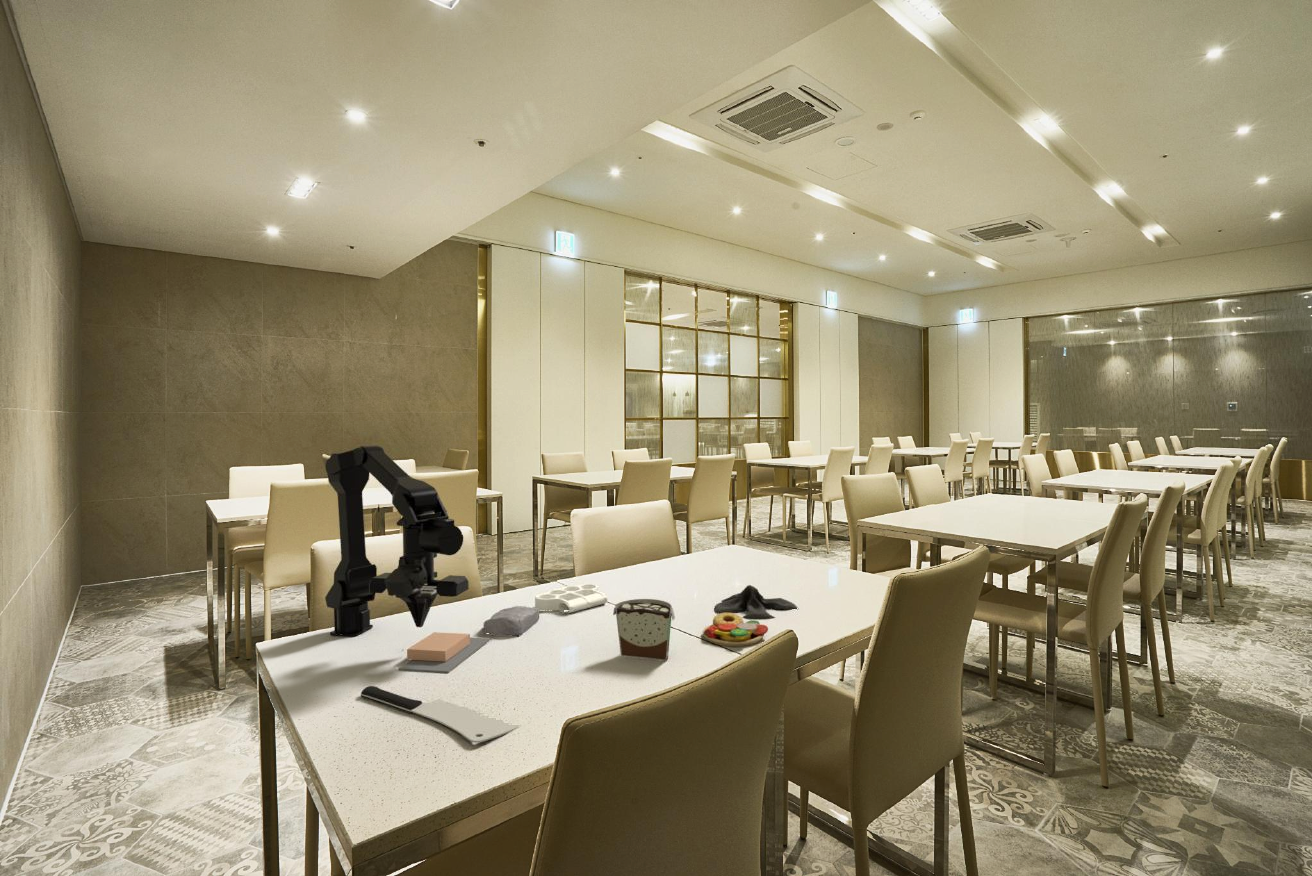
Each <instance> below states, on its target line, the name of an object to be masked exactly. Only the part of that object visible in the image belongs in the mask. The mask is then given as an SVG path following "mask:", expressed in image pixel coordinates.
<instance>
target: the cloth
mask: <svg viewBox="0 0 1312 876" xmlns="http://www.w3.org/2000/svg"><path fill="white" fill-rule="evenodd" d="M797 608H798V606H797V605H796V604H795V603H793V602H791V601H789V600H788V599H784V598H782V597H779V598H778V597H776V598H775V597H774V598H764V595H762V594H761V593H760V592H759V590H758V588H756V587H755V586H753V585H751V584H749V585H747V586H746V587H745V588H744V589H743V590H741V592H740V593H735V594H733V595H731V596H729V597H727V598H725V599H722V600H721V601H720V602H718V603H717V604H715V606H714V612H715V614H716V615H718V614H720V613H734V614H736V613H737V614H738V613H741V612H747V613H746V614H745V615H743V616H741V618H742V619H744V620H745V619H746V620H771V619H776V617H775V616H774V615H772V614H770V613H768V612H767V610H772V611H779V610H783V611H791V610H792V609H797ZM797 610H798V609H797ZM792 611H793V610H792Z"/></svg>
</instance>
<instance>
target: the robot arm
mask: <svg viewBox="0 0 1312 876" xmlns="http://www.w3.org/2000/svg"><path fill="white" fill-rule="evenodd" d="M324 468H325V471H326V475H327V481H328V483H329V484H330V486H331V487H332V488H333V490H334V491H335V492H336V495H337V507H338V508H337V509H338V524H339V526H338V527H339V538H340V540H339V541H340V558H341V560H340V561H339V563H338V565H337V567H336V568H335V571H334V573H333V584H332V585H331V587H330V589H329V591H328V592H327V593H326V595H325V597H324V598H325V599H324V601H325V603H326V607H327V608H330V609H333V623H334V624H333V626H334V628H333V629H334V630H332V631H330V632H329V635H330V636H343V637H344V636H347V637H356V636H359V635H361V634H363V633H365V632H366V631H368V630H370V629H372V628H373V627H374V625H373V624H371V616H370V615H371V612H370V611H371V610H370V608H369V602H375V598H376V594H383V593H384V592H387V595H388V596H391V597H393V596H395V597H396V599H400V600H402V601H403V602H405V604H406V606H407V608H408V609H409V612H410V615H411V617H412V619H413V622H414V624H415V627H416V628H422V627H423V626H424V624H425V621H426V620H427V617H428V614H429V612H430V609H431V607H432V606H433V603H434V601H435V600H436V598H437V596H439V597H448V598H449V597H450V598H451V597H452V598H453V597H457V596H460V595H461V594H462V593H465V592H467V591H468V590H469V579H468V578H467V577H466V575H451V574H450V575H448V576H446V577H443V578H442V579H436V578H438V571H435V558H437V557H438V554H439V555H444V556H454V555H456V554H457V553H458V552H459V551H460V550H461V548H462V546H463V544H464V535H463V533H462V531H461V529H460V528H459V527H458V526H457V525H455V519H454V518H449V515H448V513H447V512H448V510H447V508H446V507H445V505H444V504H443V502H442V500H441V497H440V495H439V493H438V491H437V489H436V488H435V487H434V486H433V485H431V484H430V483H428V482H426V481H424V480H420V479H416V478H413V477H412V476H410V475H409V474H408V473H407V472H406V471H405V470H404V469H403V468H402V467H401V466H400V465H398V464H397V463H396V462H395V461H394V460H393V459H392V458H391V457H390V456H389V455H387V454H386V453H385V451H384V449H383V447H381V446H379V445H360V446H359V447H356V448H353V449H352V450H347V451H345V452H335V453H331V455H330V456H329V458H328V459H327V460H326V462H325V467H324ZM370 475H371V476H372V477H374V479H375V480H377V481H378V483H380V485H381V486H383V487H384V488H385V490H387V491H388V492H389V494H391V496H392V498H391V503H392V505H393V507H394V508H395V510H396V511H397V512H398V513H399V515H400V516H402V517H400V519H398V521H397V522H396V526H398V527H402V554H403V555H401V556H399V558H398V564H397V565H398V566H397V568H395V569H393V570H392V571H391V572H383V573H381V574H378V573H377V572H378V568H377V565H376V564H374V563H371V561H370V560H369V558H367V552H366V551H367V550H366V549H367V548H366V536H365V535H366V533H365V532H366V530H365V516H364V515H365V514H364V501H363V498H364V497H363V491H364V489H365V488H366V485H367V484H368V482H369V480H370ZM377 574H378V575H377Z"/></svg>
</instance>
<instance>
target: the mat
mask: <svg viewBox="0 0 1312 876" xmlns="http://www.w3.org/2000/svg"><path fill="white" fill-rule="evenodd" d="M489 640H490V641H492V638H488V637H472V636H470V644H469V645H468V646H466V647H465V648H464V649H462V650H461V651H459V652H458V653H457V654H455V655H454V656H453V657H451V658H450V659H449V660H447V661H446V662H443V661H425V660H409V661H408V662H406V663H405V664H403V665H401V666H400V667H399V668H398V671H410V672H411V671H412V672H427V673H443V674H444V673H446V674H449V673H450V672H452V671H453V670H454V669H456V668H457V667H458V666H459V665H460V664H462V663H463V662H464V661H466V660H467V659H468V658H470V657H471V656H472V655H474V654H476V652H477V651H478V650H480V649H481V648H482V646H483V647H484V646H485V645H486V644H488V643H490V641H489ZM487 642H488V643H487Z"/></svg>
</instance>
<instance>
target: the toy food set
mask: <svg viewBox="0 0 1312 876" xmlns="http://www.w3.org/2000/svg"><path fill="white" fill-rule="evenodd" d="M743 619H744V618H742V616H740V615H738V613H737V614H736V613H720V614H716V615H714V617H713V620H712V624H710V625H708V626H706V627H704V628H703V630H702V635H703V637H704V638H706V640H707V641H709V642H711V643H713V644H716V645H719V646H726V647H744V646H751V645H755V644H756V643H758V642H760V641H761V640H762V639H763V638H764V636H765V634H767V633H768V632H769V628H768V626H767V625H765V624H761V623H760V621H759V620H756V619H751V620H749V621H746V622H744V620H743Z"/></svg>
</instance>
